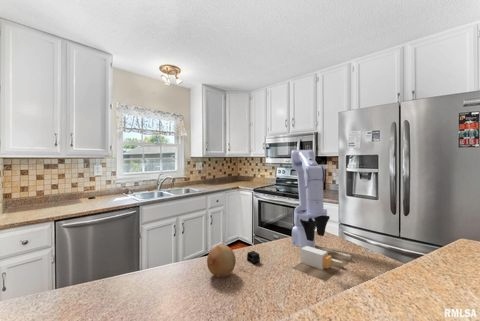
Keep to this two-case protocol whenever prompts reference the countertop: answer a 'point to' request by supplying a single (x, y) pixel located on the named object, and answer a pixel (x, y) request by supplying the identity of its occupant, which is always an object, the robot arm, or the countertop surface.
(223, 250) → the onion
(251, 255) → the black chunky block
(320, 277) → the board
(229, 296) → the countertop surface
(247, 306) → the countertop surface
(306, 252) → the white tall block
